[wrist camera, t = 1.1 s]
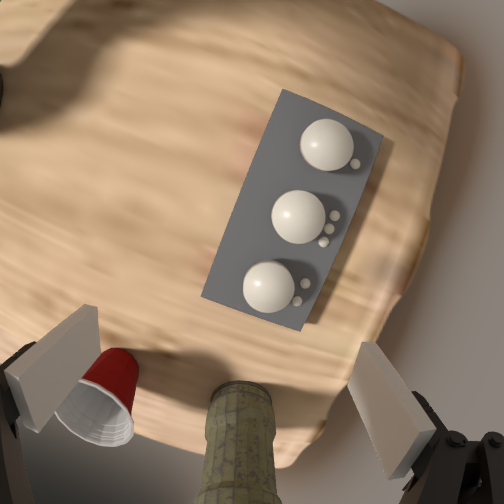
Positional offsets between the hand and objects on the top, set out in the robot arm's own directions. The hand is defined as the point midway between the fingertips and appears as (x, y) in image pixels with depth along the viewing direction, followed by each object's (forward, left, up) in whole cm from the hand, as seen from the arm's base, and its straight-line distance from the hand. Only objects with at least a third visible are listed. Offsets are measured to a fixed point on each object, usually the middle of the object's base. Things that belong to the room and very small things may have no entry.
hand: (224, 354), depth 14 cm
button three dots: (-2, +7, -20) cm, 21 cm away
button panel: (-2, +7, -21) cm, 23 cm away
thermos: (+20, -9, -22) cm, 31 cm away
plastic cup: (+8, -22, -22) cm, 32 cm away
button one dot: (-7, +12, -20) cm, 24 cm away
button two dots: (+3, +2, -20) cm, 20 cm away
